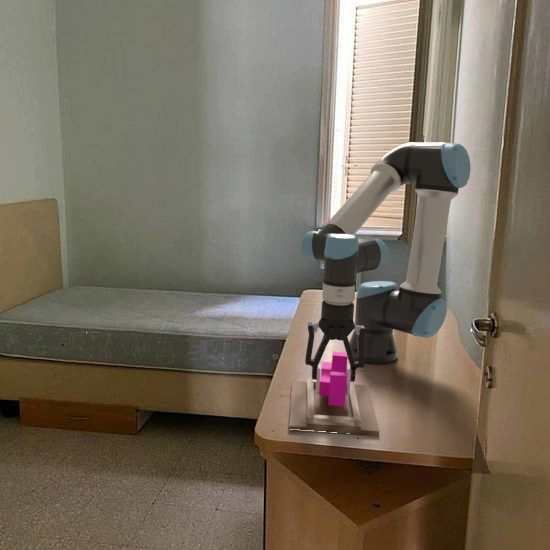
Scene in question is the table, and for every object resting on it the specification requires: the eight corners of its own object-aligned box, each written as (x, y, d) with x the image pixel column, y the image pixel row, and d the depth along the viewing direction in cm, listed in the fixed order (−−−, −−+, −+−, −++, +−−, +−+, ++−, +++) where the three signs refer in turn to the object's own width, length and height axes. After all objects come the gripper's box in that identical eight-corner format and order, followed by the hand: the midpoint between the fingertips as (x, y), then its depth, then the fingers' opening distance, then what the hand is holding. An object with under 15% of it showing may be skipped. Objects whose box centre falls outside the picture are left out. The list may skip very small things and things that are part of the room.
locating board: (367, 389, 142) (368, 379, 141) (379, 436, 119) (380, 425, 118) (292, 385, 143) (292, 375, 142) (288, 430, 120) (289, 419, 119)
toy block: (321, 377, 139) (323, 350, 137) (345, 380, 138) (347, 352, 136) (317, 404, 124) (319, 373, 122) (344, 406, 123) (346, 376, 122)
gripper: (296, 303, 121) (291, 397, 127) (382, 307, 120) (374, 401, 126) (296, 294, 129) (292, 383, 134) (378, 298, 128) (371, 388, 133)
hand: (332, 392), depth 130 cm, fingers closed on toy block, 6 cm apart
